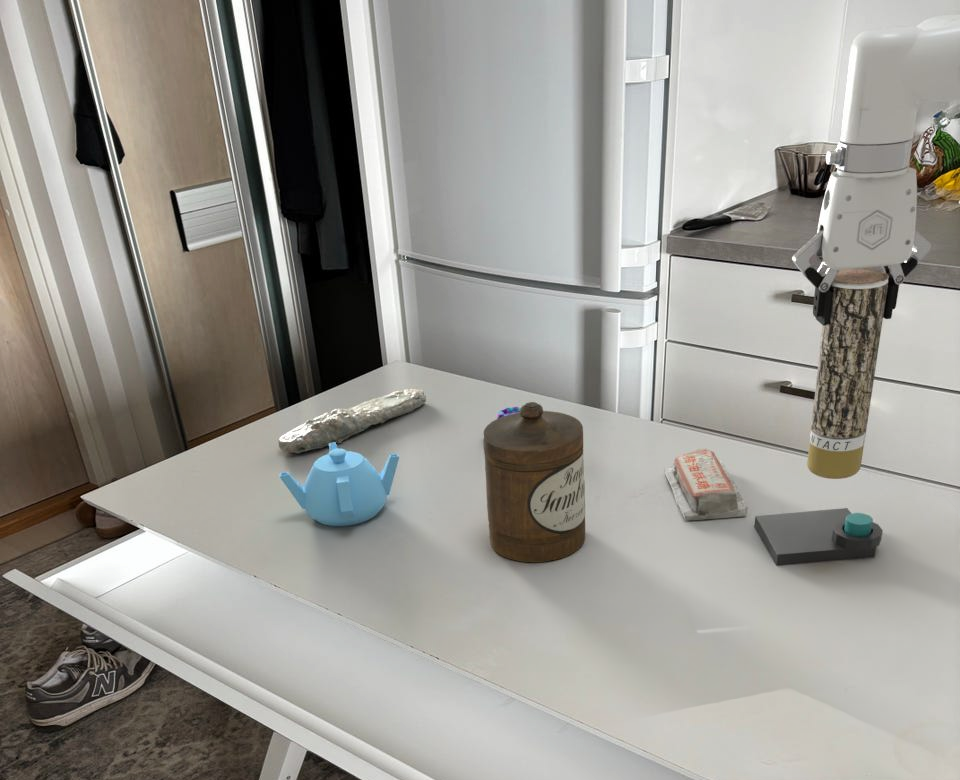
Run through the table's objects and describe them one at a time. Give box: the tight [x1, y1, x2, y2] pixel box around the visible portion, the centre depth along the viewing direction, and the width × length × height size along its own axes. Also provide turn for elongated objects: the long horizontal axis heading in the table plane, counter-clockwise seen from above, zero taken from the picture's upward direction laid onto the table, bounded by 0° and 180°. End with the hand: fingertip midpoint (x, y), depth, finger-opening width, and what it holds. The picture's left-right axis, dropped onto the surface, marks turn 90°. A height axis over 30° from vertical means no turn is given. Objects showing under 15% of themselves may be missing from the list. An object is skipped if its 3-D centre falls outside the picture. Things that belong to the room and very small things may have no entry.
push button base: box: [753, 507, 884, 567], centre depth 143 cm, size 15×13×4 cm
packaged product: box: [664, 448, 748, 521], centre depth 158 cm, size 18×5×10 cm
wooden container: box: [482, 401, 586, 563], centre depth 146 cm, size 15×15×22 cm
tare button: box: [844, 512, 874, 536], centre depth 139 cm, size 4×4×2 cm
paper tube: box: [806, 268, 889, 480], centre depth 123 cm, size 7×7×25 cm
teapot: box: [278, 442, 400, 527], centre depth 162 cm, size 15×15×11 cm
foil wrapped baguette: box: [278, 388, 427, 454], centre depth 194 cm, size 35×5×10 cm
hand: (852, 317), depth 119 cm, fingers closed on paper tube, 6 cm apart
